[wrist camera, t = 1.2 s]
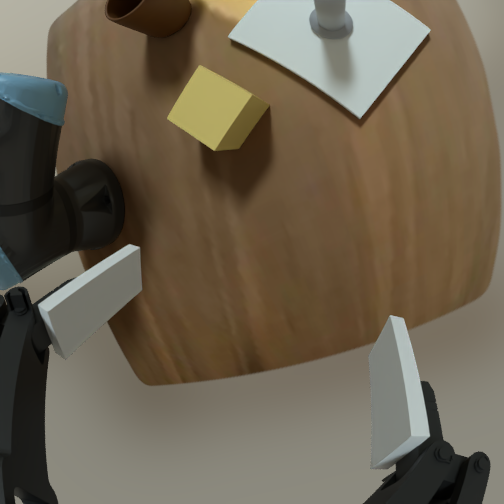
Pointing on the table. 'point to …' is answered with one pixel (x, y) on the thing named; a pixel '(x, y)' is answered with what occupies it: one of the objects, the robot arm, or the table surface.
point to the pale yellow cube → (217, 110)
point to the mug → (149, 15)
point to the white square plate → (334, 43)
